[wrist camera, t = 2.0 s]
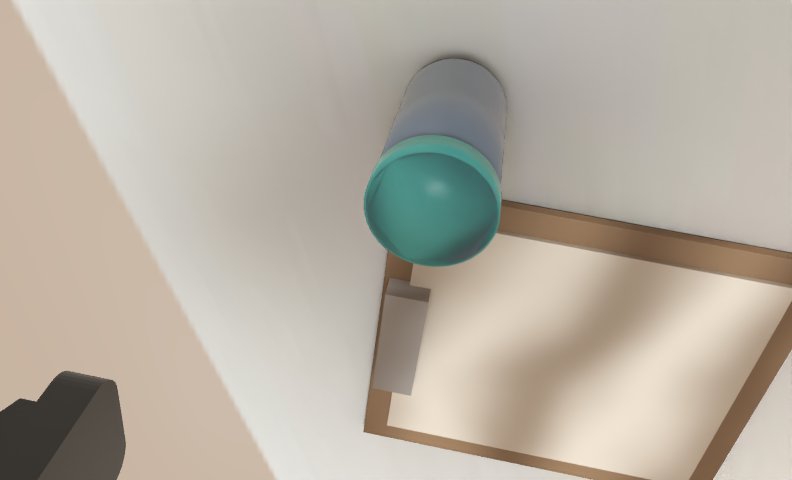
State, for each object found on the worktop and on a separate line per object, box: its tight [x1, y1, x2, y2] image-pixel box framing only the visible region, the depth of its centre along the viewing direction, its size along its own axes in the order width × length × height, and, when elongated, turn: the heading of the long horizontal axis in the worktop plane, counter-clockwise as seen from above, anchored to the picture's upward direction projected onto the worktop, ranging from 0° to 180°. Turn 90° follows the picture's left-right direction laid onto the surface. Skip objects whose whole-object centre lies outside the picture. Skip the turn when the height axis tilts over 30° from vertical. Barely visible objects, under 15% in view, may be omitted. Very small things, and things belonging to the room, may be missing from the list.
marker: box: [364, 59, 507, 267], centre depth 20 cm, size 3×3×7 cm
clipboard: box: [364, 200, 792, 480], centre depth 28 cm, size 15×13×1 cm
